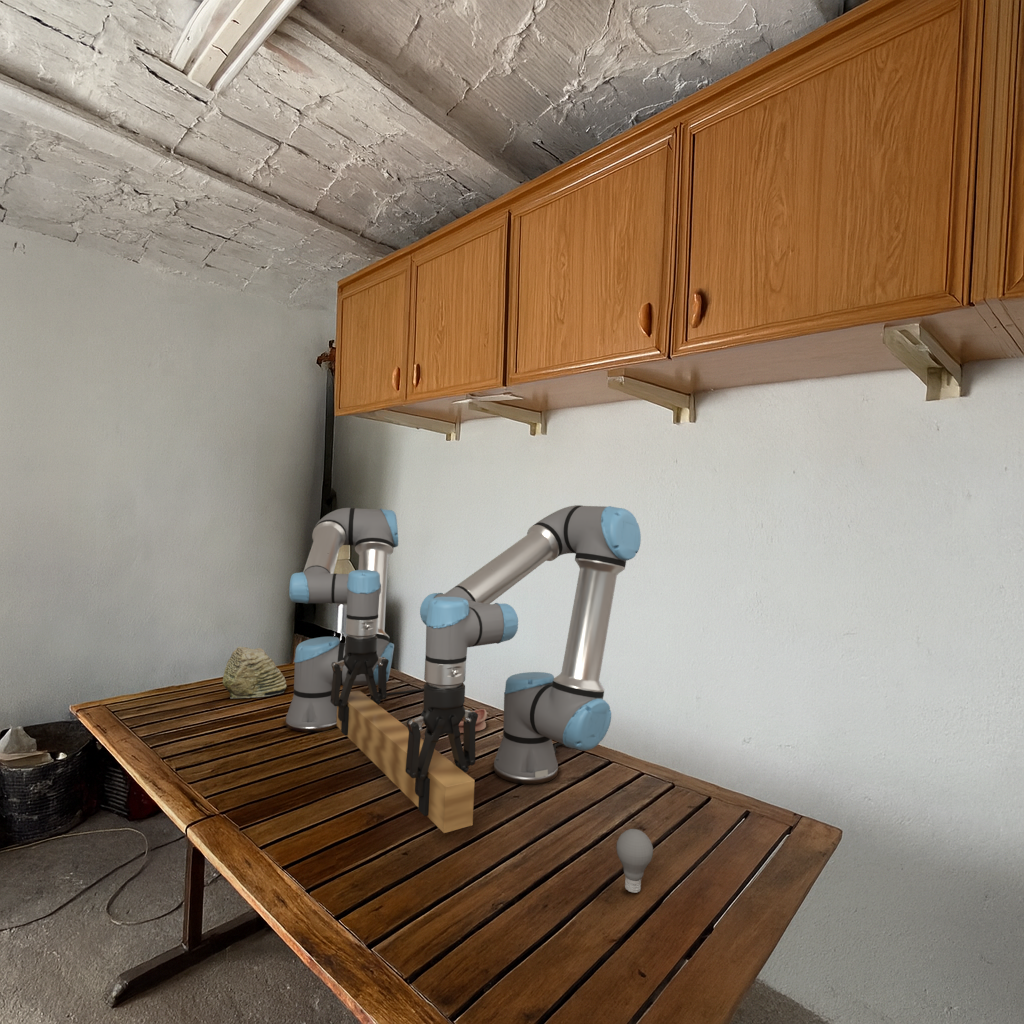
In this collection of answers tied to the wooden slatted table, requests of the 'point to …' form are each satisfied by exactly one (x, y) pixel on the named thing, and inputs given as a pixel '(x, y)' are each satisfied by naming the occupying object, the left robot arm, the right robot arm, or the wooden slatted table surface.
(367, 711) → the post
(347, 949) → the wooden slatted table surface
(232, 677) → the fossil
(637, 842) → the light bulb
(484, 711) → the anatomical model
